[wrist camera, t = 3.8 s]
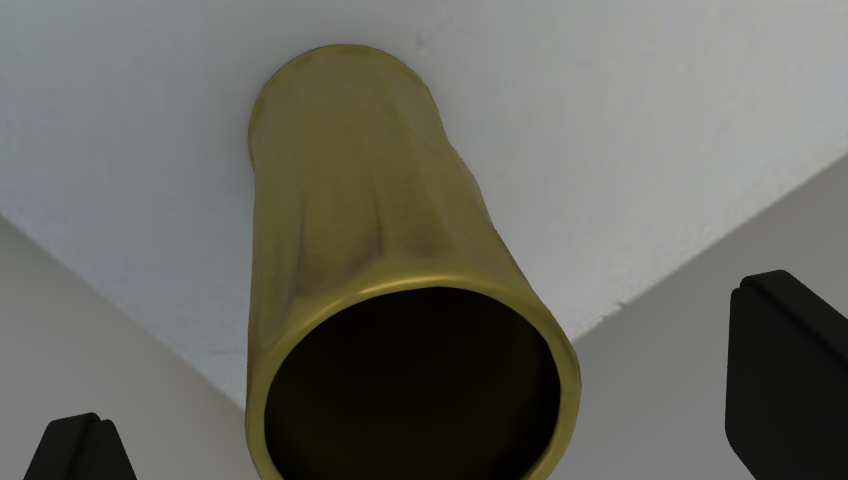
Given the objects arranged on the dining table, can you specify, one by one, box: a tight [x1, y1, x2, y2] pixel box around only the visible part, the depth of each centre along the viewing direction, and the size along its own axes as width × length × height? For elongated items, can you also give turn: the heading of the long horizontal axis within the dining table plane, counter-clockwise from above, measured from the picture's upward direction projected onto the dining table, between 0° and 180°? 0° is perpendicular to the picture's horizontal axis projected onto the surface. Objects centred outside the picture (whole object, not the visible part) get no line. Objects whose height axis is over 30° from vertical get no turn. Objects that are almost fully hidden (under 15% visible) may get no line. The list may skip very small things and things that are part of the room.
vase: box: [245, 45, 582, 480], centre depth 18 cm, size 6×6×14 cm
